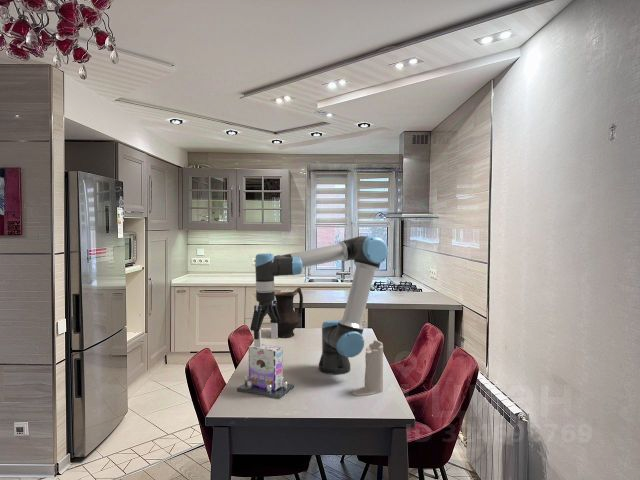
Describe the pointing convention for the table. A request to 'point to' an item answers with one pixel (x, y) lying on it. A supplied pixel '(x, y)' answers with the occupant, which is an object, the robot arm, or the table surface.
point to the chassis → (268, 392)
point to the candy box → (266, 366)
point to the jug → (288, 312)
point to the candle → (373, 370)
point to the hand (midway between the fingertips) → (266, 342)
